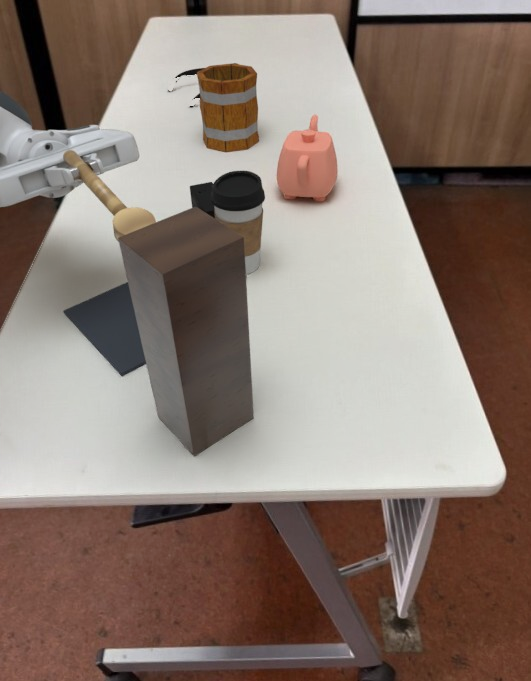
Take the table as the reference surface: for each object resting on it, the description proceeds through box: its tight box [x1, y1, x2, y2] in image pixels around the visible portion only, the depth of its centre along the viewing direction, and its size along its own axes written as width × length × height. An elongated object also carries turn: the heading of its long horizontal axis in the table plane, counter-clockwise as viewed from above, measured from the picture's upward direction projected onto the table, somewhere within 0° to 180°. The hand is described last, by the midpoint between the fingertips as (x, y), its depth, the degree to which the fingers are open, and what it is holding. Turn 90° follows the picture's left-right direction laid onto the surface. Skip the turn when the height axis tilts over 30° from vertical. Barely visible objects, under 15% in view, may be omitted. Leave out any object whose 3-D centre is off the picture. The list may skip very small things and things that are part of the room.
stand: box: [118, 207, 255, 457], centre depth 63 cm, size 8×9×26 cm
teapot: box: [276, 114, 339, 202], centre depth 112 cm, size 20×12×12 cm, turn 170°
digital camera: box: [189, 181, 215, 218], centre depth 102 cm, size 10×5×7 cm, turn 21°
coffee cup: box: [211, 170, 266, 275], centre depth 91 cm, size 8×8×15 cm
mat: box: [62, 281, 146, 377], centre depth 85 cm, size 18×12×1 cm, turn 40°
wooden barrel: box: [196, 62, 260, 153], centre depth 132 cm, size 20×14×15 cm
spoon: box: [63, 150, 157, 243], centre depth 68 cm, size 18×5×2 cm, turn 41°
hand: (86, 171), depth 70 cm, fingers closed on spoon, 2 cm apart
